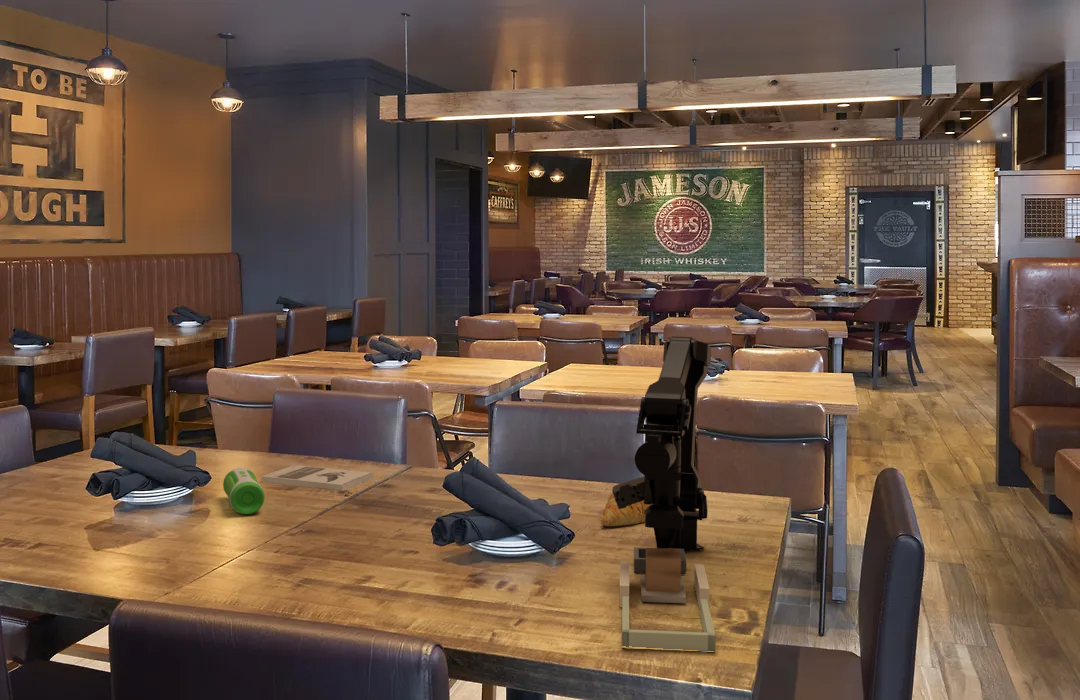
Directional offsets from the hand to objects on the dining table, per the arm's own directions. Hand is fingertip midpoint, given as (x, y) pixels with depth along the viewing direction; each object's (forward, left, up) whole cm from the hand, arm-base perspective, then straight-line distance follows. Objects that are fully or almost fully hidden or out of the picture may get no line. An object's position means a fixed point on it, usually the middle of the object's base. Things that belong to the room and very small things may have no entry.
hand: (661, 555), depth 165 cm
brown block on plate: (-5, +3, -5) cm, 7 cm away
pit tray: (+7, -3, -5) cm, 9 cm away
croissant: (+39, -13, -5) cm, 41 cm away
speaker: (+76, +62, -5) cm, 98 cm away
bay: (-20, +10, -5) cm, 22 cm away
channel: (-7, +3, -5) cm, 9 cm away
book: (+96, +43, -5) cm, 105 cm away
